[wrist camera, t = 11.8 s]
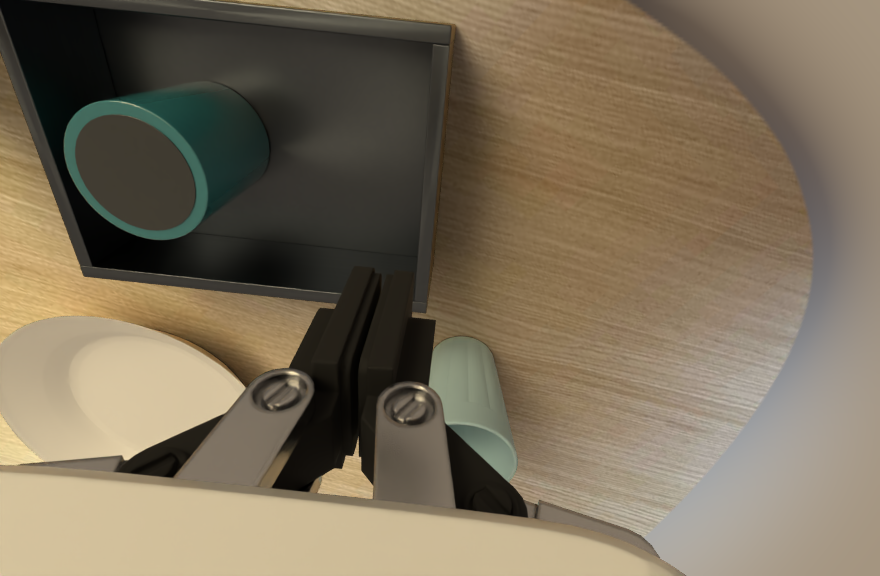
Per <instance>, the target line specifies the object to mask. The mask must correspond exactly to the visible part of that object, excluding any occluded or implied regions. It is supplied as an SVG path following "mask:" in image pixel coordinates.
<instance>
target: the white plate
mask: <svg viewBox="0 0 880 576" xmlns="http://www.w3.org/2000/svg"><path fill="white" fill-rule="evenodd" d="M245 389H246V387H245V386H244V385H243V384H242V382H241V381H240V380H239V378H238V377H237V376H236V375H235V374H234V373H233V372H232V371H231V370H230V369H229V368H228V367H227V366H226V365H225V364H224V363H223V362H221V361H220V360H219V359H217V358H216V357H215V356H213V355H212V354H210V353H209V352H207V351H206V350H204V349H202V348H201V347H199V346H197V345H195V344H193V343H191V342H189V341H187V340H185V339H182V338H180V337H177V336H175V335H172V334H169V333H166V332H162V331H158V330H153V329H149V328H146V327H143V326H140V325H136V324H132V323H128V322H124V321H120V320H115V319H109V318H102V317H93V316H61V317H53V318H48V319H43V320H39V321H36V322H33V323H30V324H27V325H25V326H23V327H21V328H19V329H17V330H16V331H14V332H13V333H11V334H10V335H9V336H8V337H7V338H5V339H4V341H3V342H2V343H1V344H0V413H1V415H2V416H3V418H4V419H5V421H6V423H7V424H8V425H9V427H10V428H11V429H12V431H13V432H14V433H15V434H16V435H17V437H18V438H19V439H20V440H21V441H22V442H23V443H24V444H25V445H26V446H27V447H28V448H29V449H30V450H31V451H32V452H33V453H35V454H36V455H37V456H38V457H39V458H40V459H42V460H43V461H44V462H51V461H62V460H74V459H85V458H96V457H107V456H118V455H122V456H123V458H124V460H129V459H130V458H132V457H133V456H134V455H136V454H138V453H140V452H141V451H143V450H145V449H147V448H149V447H151V446H153V445H156V444H158V443H160V442H162V441H164V440H167V439H169V438H171V437H173V436H175V435H178V434H180V433H182V432H184V431H186V430H189V429H191V428H193V427H195V426H198V425H200V424H202V423H204V422H206V421H209V420H211V419H213V418H215V417H217V416H220V415H222V414H224V413H226V412H227V411H228V410H229V409H230V407H231V406H232V405H233V404H234V402H235V401H236V400H237V399H238V398H239V396H240V395H241V394H242V393H243V391H244V390H245Z"/></svg>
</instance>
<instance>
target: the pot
mask: <svg viewBox="0 0 880 576" xmlns="http://www.w3.org/2000/svg"><path fill="white" fill-rule="evenodd" d="M64 155H65V160H66V164H67V168H68V170H69V173H70V175H71V178H72V180H73V181H74V183H75V185H76V187H77V188H78V190H79V191H80V193H81V194H82V196H83V197H84V198H85V199H86V201H87V202H88V203H89V204H90V205H91V206H92V207H93V208H94V209H95V210H96V211H97V212H98V213H99V214H100V215H101V216H102V217H104V218H105V219H106V220H108V221H109V222H110V223H112V224H114V225H115V226H117V227H118V228H120V229H122V230H124V231H126V232H128V233H131V234H133V235H136V236H139V237H143V238H147V239H153V240H170V239H175V238H179V237H182V236H184V235H186V234H188V233H190V232H191V231H193V230H194V229H195V228H197V227H198V226H199V225H201V224H202V223H203V222H205V221H206V220H207V219H209V218H210V217H211V216H213V215H214V214H215V213H217V212H218V211H219V210H221V209H222V208H223V207H225V206H226V205H227V204H229V203H230V202H231V201H233V200H234V199H235V198H237V197H238V196H239V195H241V194H242V193H243V192H245V191H246V190H247V189H249V188H250V187H251V186H253V185H254V184H255V183H256V182H258V181H259V179H260V178H261V177H262V176H263V174H264V172H265V170H266V168H267V165H268V161H269V142H268V137H267V133H266V130H265V128H264V125H263V123H262V121H261V120H260V118H259V116H258V115H257V113H256V112H255V110H254V109H253V108H252V107H251V106H250V104H249V103H248V102H247V101H246V100H245V99H243V98H242V97H241V96H240V95H238V94H237V93H236V92H234V91H233V90H231V89H229V88H227V87H225V86H223V85H221V84H217V83H214V82H209V81H191V82H186V83H181V84H177V85H172V86H167V87H163V88H158V89H153V90H149V91H144V92H139V93H134V94H130V95H125V96H120V97H116V98H111V99H106V100H102V101H97V102H94V103H91V104H89V105H87V106H85V107H83V108H82V109H80V110H79V111H78V112H77V113H76V114H75V115H74V116H73V117H72V119H71V120H70V122H69V124H68V126H67V129H66V132H65V137H64Z"/></svg>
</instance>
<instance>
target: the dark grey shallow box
mask: <svg viewBox="0 0 880 576" xmlns="http://www.w3.org/2000/svg"><path fill="white" fill-rule="evenodd" d="M455 30H456V25H455V24H448V23H438V22H429V21H419V20H410V19H400V18H391V17H382V16H372V15H363V14H353V13H344V12H334V11H325V10H315V9H306V8H296V7H287V6H277V5H268V4H258V3H249V2H239V1H230V0H0V53H1V55H2V58H3V61H4V63H5V66H6V69H7V71H8V74H9V77H10V79H11V82H12V85H13V88H14V90H15V93H16V96H17V98H18V101H19V104H20V106H21V109H22V112H23V114H24V117H25V120H26V122H27V125H28V128H29V130H30V133H31V136H32V138H33V141H34V144H35V146H36V149H37V152H38V154H39V157H40V160H41V162H42V165H43V168H44V171H45V173H46V176H47V179H48V181H49V184H50V187H51V189H52V192H53V195H54V197H55V200H56V203H57V205H58V208H59V211H60V213H61V216H62V219H63V221H64V224H65V227H66V229H67V232H68V235H69V237H70V240H71V243H72V246H73V248H74V251H75V254H76V256H77V259H78V262H79V264H80V267H81V270H82V273H83V275H84V277H93V278H102V279H111V280H121V281H130V282H139V283H149V284H158V285H167V286H176V287H186V288H195V289H204V290H214V291H223V292H232V293H241V294H251V295H260V296H269V297H279V298H288V299H297V300H307V301H316V302H325V303H334V304H337V303H338V300H339V298H340V296H341V294H342V291H343V289H344V287H345V285H346V283H347V280H348V278H349V276H350V274H351V272H352V269H353V267H354V266H363V267H373V268H375V273H381V275H382V288H383V285H384V281H385V278H386V275H387V274H390V275H394V271H395V270H401V271H410V272H414V290H413V304H412V312H418V313H426V311H427V304H428V297H429V291H430V284H431V278H432V271H433V264H434V254H435V244H436V233H437V222H438V212H439V201H440V190H441V180H442V169H443V158H444V147H445V137H446V126H447V115H448V105H449V94H450V83H451V73H452V62H453V51H454V41H455ZM191 81H209V82H214V83H217V84H221V85H223V86H225V87H227V88H229V89H231V90H233V91H234V92H236V93H237V94H238V95H240V96H241V97H242V98H243V99H245V100H246V101H247V102H248V103H249V104H250V106H251V107H252V108H253V109H254V110H255V112H256V113H257V115H258V116H259V118H260V120H261V121H262V123H263V125H264V128H265V130H266V133H267V137H268V142H269V161H268V165H267V168H266V170H265V172H264V174H263V176H262V177H261V178H260V179H259V181H258V182H256V183H255V184H254V185H253V186H251V187H250V188H249V189H247V190H246V191H245V192H243V193H242V194H241V195H239V196H238V197H237V198H235V199H234V200H233V201H231V202H230V203H229V204H227V205H226V206H225V207H223V208H222V209H221V210H219V211H218V212H217V213H215V214H214V215H213V216H211V217H210V218H209V219H207V220H206V221H205V222H203V223H202V224H201V225H199V226H198V227H197V228H195V229H194V230H193V231H191V232H190V233H188V234H186V235H184V236H182V237H179V238H175V239H170V240H153V239H147V238H143V237H139V236H136V235H133V234H131V233H128V232H126V231H124V230H122V229H120V228H118V227H117V226H115V225H114V224H112V223H110V222H109V221H108V220H106V219H105V218H104V217H102V216H101V215H100V214H99V213H98V212H97V211H96V210H95V209H94V208H93V207H92V206H91V205H90V204H89V203H88V202H87V201H86V199H85V198H84V197H83V196H82V194H81V193H80V191H79V190H78V188H77V187H76V185H75V183H74V181H73V180H72V178H71V175H70V173H69V170H68V168H67V164H66V160H65V155H64V137H65V132H66V129H67V126H68V124H69V122H70V120H71V119H72V117H73V116H74V115H75V114H76V113H77V112H78V111H79V110H80V109H82V108H83V107H85V106H87V105H89V104H91V103H94V102H97V101H102V100H106V99H111V98H116V97H120V96H125V95H130V94H134V93H139V92H144V91H149V90H153V89H158V88H163V87H167V86H172V85H177V84H181V83H186V82H191ZM382 288H381V291H382Z"/></svg>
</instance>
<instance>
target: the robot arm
mask: <svg viewBox="0 0 880 576" xmlns="http://www.w3.org/2000/svg"><path fill="white" fill-rule="evenodd" d="M381 288H382V275H381V273H375V268H373V267H363V266H354V267H353V269H352V272H351V274H350V276H349V278H348V280H347V283H346V285H345V287H344V289H343V291H342V294H341V296H340V298H339V300H338V303H337V305H336V307H335V309H328V308H320V309H319V310H318V311H317V313H316V315H315V317H314V319H313V321H312V323H311V325H310V327H309V329H308V331H307V333H306V335H305V337H304V339H303V340H302V342H301V344H300V346H299V348H298V350H297V352H296V354H295V356H294V358H293V360H292V362H291V364H290V366H289V368H282V369H275V370H272V371H268V372H265V373H264V374H262V375H260V376H258V377H257V378H255V379H254V380H253V381H252V382H251V383H250V384H249V385H248V387H247V388H246V389H245V390H244V391H243V393H242V394H241V395H240V396H239V398H238V399H237V400H236V401H235V402H234V404H233V405H232V406H231V407H230V409H229V410H228V411H227V412H226V413H224V414H222V415H220V416H217V417H215V418H213V419H211V420H209V421H206V422H204V423H202V424H200V425H198V426H195V427H193V428H191V429H189V430H186V431H184V432H182V433H180V434H178V435H175V436H173V437H171V438H169V439H167V440H164V441H162V442H160V443H158V444H156V445H153V446H151V447H149V448H147V449H145V450H143V451H141V452H140V453H138V454H136V455H134V456H133V457H132V458H130V459H129V460H124V458H123V456H122V455H118V456H107V457H96V458H85V459H74V460H62V461H51V462H40V463H29V464H20V465H0V576H686V575H685V574H683V573H682V572H680V571H679V570H677V569H676V568H675V567H673V566H671V565H670V564H668V563H667V562H665V561H663V560H662V559H660V557H659V556H658V554H657V553H656V551H655V550H654V548H653V547H652V545H650V543H648V542H647V541H646V540H645V539H644V538H643V537H642V536H641V535H639V534H637V533H635V532H633V531H631V530H629V529H626V528H623V527H620V526H617V525H614V524H611V523H608V522H605V521H602V520H598V519H595V518H592V517H589V516H586V515H583V514H580V513H577V512H574V511H571V510H568V509H565V508H562V507H559V506H556V505H553V504H550V503H547V502H544V501H541V500H539V502H538V505H537V504H534V503H531V502H528V501H525V500H523V498H522V496H521V495H520V494H519V493H518V492H517V490H516V489H515V488H514V487H513V486H512V485H511V484H510V483H509V482H508V481H507V480H505V479H504V478H503V477H502V476H501V475H500V474H499V473H498V472H497V471H496V470H495V469H494V468H493V467H492V466H491V465H490V464H489V463H487V462H486V461H485V460H484V459H483V458H482V457H481V456H480V455H479V454H478V453H477V452H476V451H475V450H474V449H473V448H472V447H470V446H469V445H468V444H467V443H466V442H465V441H464V440H463V439H462V438H461V437H460V436H459V435H458V434H457V433H456V432H455V431H454V430H452V429H451V428H450V427H449V426H448V425H447V424H446V423H445V419H444V411H443V404H442V401H441V398H440V396H439V395H438V394H437V393H436V391H435V390H433V389H432V388H430V387H429V379H430V370H431V361H432V352H433V342H434V333H435V324H436V320H430V319H421V318H412V304H413V290H414V272H410V271H401V270H395V271H394V275H390V274H387V275H386V278H385V281H384V285H383V288H382V291H381ZM358 436H359V457H361V471H362V472H363V473H364V475H365V476H366V477H367V478H368V480H369V481H370V482H371V483H372V485H373V499H365V498H356V497H347V496H338V495H329V494H320V493H317V492H318V490H319V488H320V485H321V481H322V475H324V474H325V473H327V472H329V471H330V470H332V469H334V468H339V469H342V467H343V463H344V460H345V456H346V455H348V456H353V454H354V451H355V448H356V444H357V440H358Z"/></svg>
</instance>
